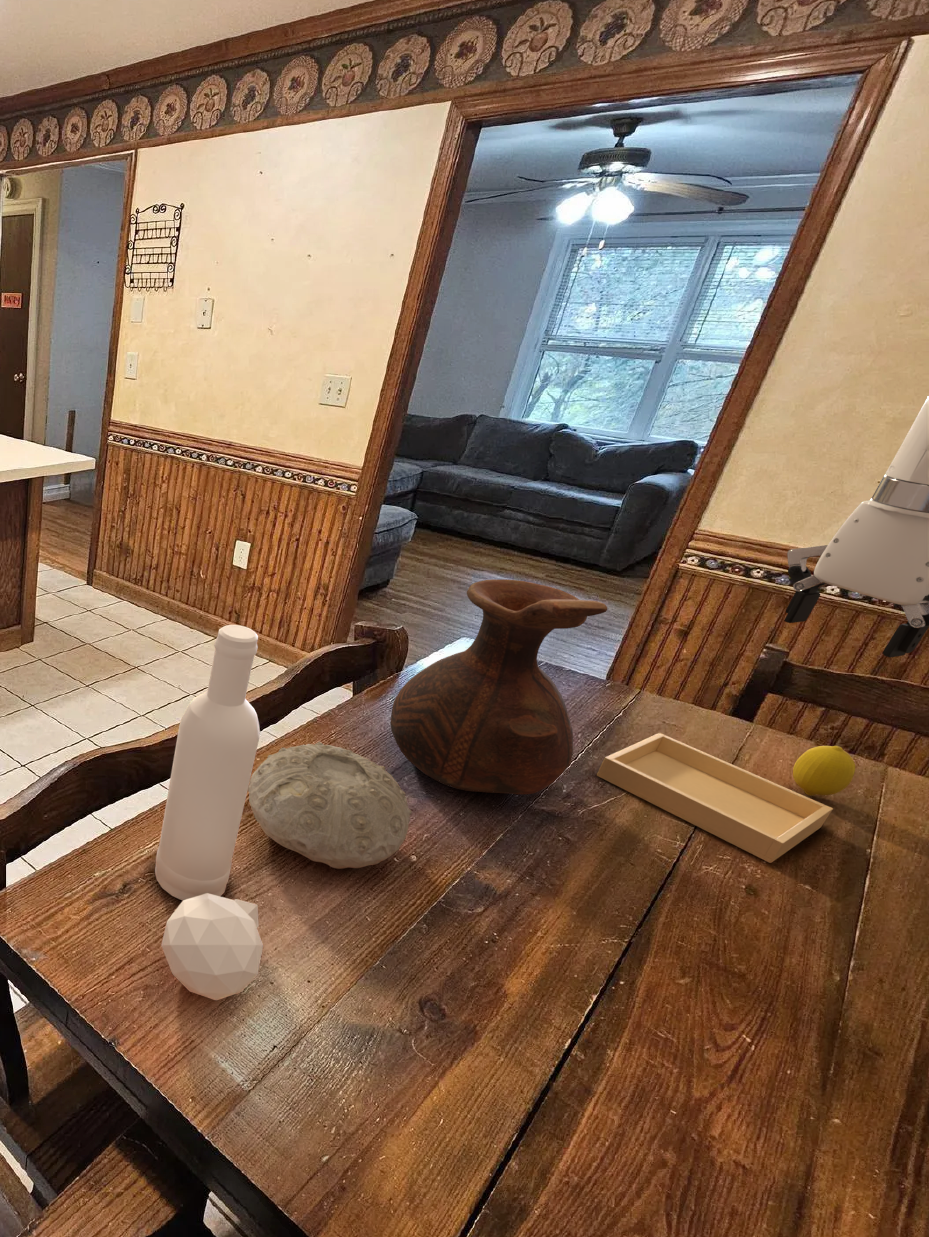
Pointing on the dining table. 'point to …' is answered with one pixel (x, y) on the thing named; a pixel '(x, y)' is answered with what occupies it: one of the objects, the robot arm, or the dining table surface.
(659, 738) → the tray
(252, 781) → the decorative shell
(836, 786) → the lemon
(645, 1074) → the dining table surface
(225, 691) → the bottle
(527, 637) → the jug
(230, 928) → the cream faceted rounded solid
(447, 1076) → the dining table surface
